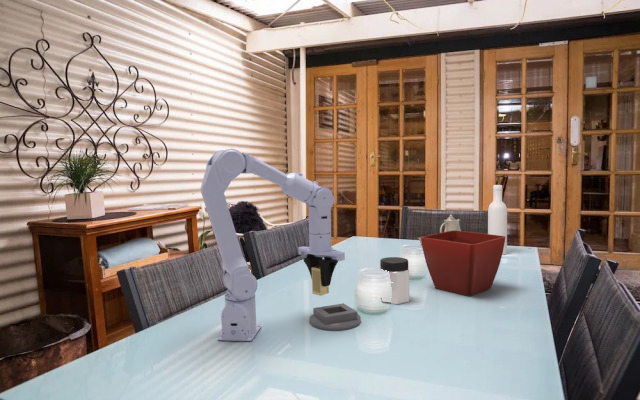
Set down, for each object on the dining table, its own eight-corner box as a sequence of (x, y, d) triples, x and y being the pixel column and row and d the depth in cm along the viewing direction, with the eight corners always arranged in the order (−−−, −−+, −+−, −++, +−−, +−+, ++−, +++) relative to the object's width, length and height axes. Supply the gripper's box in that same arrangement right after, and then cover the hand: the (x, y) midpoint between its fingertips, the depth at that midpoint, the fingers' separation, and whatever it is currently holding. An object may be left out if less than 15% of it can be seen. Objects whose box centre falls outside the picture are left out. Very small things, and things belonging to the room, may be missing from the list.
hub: (322, 334, 105) (321, 321, 104) (302, 317, 117) (302, 306, 116) (369, 325, 110) (369, 313, 110) (346, 310, 122) (346, 299, 122)
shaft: (320, 295, 113) (320, 268, 112) (312, 293, 115) (311, 267, 114) (331, 292, 116) (330, 265, 115) (322, 290, 118) (321, 264, 117)
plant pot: (473, 301, 127) (473, 243, 126) (419, 288, 142) (419, 236, 141) (506, 289, 139) (507, 236, 138) (453, 278, 154) (453, 230, 153)
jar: (375, 301, 129) (374, 261, 128) (385, 294, 136) (384, 256, 135) (404, 306, 124) (404, 264, 123) (413, 298, 131) (413, 258, 131)
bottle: (508, 252, 195) (509, 184, 193) (505, 255, 188) (506, 185, 186) (489, 251, 199) (489, 184, 197) (485, 254, 193) (486, 185, 190)
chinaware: (448, 245, 225) (445, 212, 226) (478, 245, 213) (475, 211, 213) (414, 252, 208) (410, 217, 208) (444, 254, 195) (440, 216, 195)
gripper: (351, 233, 112) (352, 285, 113) (310, 228, 122) (311, 277, 123) (333, 236, 107) (335, 291, 108) (292, 232, 117) (293, 282, 118)
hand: (321, 284), depth 115 cm, fingers closed on shaft, 3 cm apart
